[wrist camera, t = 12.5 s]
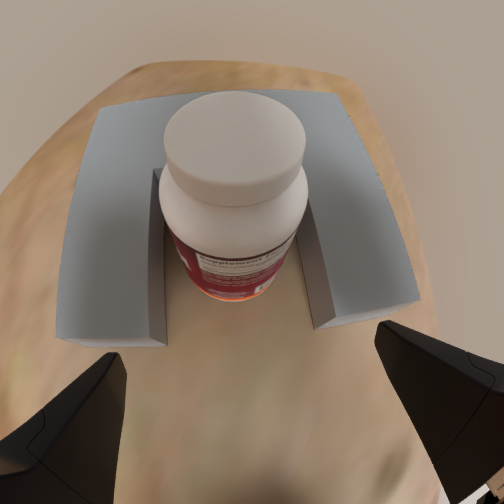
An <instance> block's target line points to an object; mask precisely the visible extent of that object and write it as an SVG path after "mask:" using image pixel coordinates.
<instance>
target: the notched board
mask: <svg viewBox="0 0 504 504" xmlns="http://www.w3.org/2000/svg"><path fill="white" fill-rule="evenodd" d="M227 91H241V92H250V93H255V94H259V95H263V96H266V97H269V98H271V99H274V100H276V101H278V102H280V103H281V104H283V105H285V106H286V107H287V108H289V109H290V110H291V111H292V112H293V113H294V114H295V115H296V116H297V117H298V119H299V120H300V121H301V123H302V126H303V128H304V131H305V136H306V145H305V150H304V155H303V160H302V164H301V165H302V167H303V169H304V172H305V175H306V178H307V183H308V199H307V205H306V208H305V211H304V214H303V217H302V220H301V222H300V224H299V226H298V229H297V231H296V233H295V234H296V238H297V243H298V248H299V252H300V257H301V262H302V267H303V272H304V277H305V282H306V287H307V293H308V298H309V303H310V309H311V314H312V320H313V325H314V330H316V329H322V328H328V327H333V326H339V325H344V324H349V323H354V322H359V321H364V320H369V319H374V318H378V317H383V316H387V315H390V314H392V313H394V312H396V311H398V310H400V309H402V308H404V307H407V306H409V305H411V304H413V303H415V302H417V301H419V300H421V299H420V295H419V291H418V287H417V283H416V280H415V276H414V273H413V269H412V266H411V263H410V259H409V256H408V253H407V250H406V247H405V244H404V241H403V238H402V235H401V232H400V229H399V227H398V224H397V221H396V218H395V216H394V213H393V210H392V208H391V205H390V203H389V200H388V198H387V195H386V193H385V190H384V188H383V186H382V183H381V181H380V179H379V176H378V174H377V172H376V170H375V167H374V165H373V163H372V161H371V159H370V157H369V154H368V152H367V150H366V148H365V146H364V144H363V142H362V140H361V138H360V136H359V134H358V132H357V130H356V128H355V126H354V124H353V123H352V121H351V119H350V117H349V115H348V113H347V112H346V110H345V108H344V106H343V104H342V103H341V101H340V99H339V97H338V96H337V94H336V93H326V92H313V91H296V90H227ZM217 92H225V91H211V92H198V93H188V94H179V95H171V96H163V97H156V98H150V99H144V100H138V101H132V102H127V103H122V104H117V105H112V106H108V107H104V108H100V111H99V113H98V116H97V118H96V121H95V124H94V127H93V129H92V132H91V135H90V138H89V141H88V144H87V147H86V150H85V153H84V156H83V160H82V163H81V167H80V170H79V174H78V177H77V181H76V185H75V189H74V193H73V197H72V201H71V206H70V211H69V215H68V220H67V226H66V231H65V237H64V243H63V249H62V256H61V264H60V273H59V282H58V294H57V310H56V338H58V339H61V340H65V341H68V342H72V343H75V344H79V345H82V346H86V347H151V346H167V333H166V315H165V292H164V215H163V212H162V209H161V205H160V201H159V183H160V178H161V174H162V171H163V169H164V167H165V165H166V163H167V158H166V153H165V148H164V132H165V129H166V126H167V124H168V122H169V120H170V119H171V117H172V116H173V115H174V114H175V113H176V112H177V111H178V110H179V109H180V108H181V107H183V106H184V105H186V104H187V103H189V102H191V101H192V100H194V99H197V98H199V97H202V96H205V95H208V94H212V93H217Z"/></svg>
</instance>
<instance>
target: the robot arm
mask: <svg viewBox="0 0 504 504" xmlns="http://www.w3.org/2000/svg"><path fill="white" fill-rule="evenodd" d="M374 343H375V347H376V350H377V352H378V354H379V357H380V359H381V361H382V364H383V366H384V368H385V371H386V373H387V376H388V378H389V380H390V382H391V384H392V385H393V387H394V389H395V391H396V393H397V395H398V396H399V398H400V400H401V402H402V404H403V406H404V408H405V410H406V412H407V413H408V415H409V417H410V419H411V421H412V423H413V425H414V427H415V429H416V431H417V433H418V435H419V437H420V439H421V441H422V443H423V445H424V447H425V449H426V451H427V453H428V455H429V457H430V460H431V462H432V464H433V466H434V468H435V470H436V473H437V475H438V477H439V479H440V481H441V484H442V486H443V488H444V490H445V493H446V495H447V497H448V500H449V502H450V504H459V503H460V502H461V501H463V500H464V499H466V498H467V497H468V496H470V495H471V494H472V493H474V492H475V491H476V490H478V489H479V488H480V487H481V486H483V485H484V484H485V483H486V484H487V486H488V488H489V489H490V490H489V491H488V492H487V493H486V494H484V495H483V496H482V497H481V498H480V499H478V500H477V503H476V504H504V364H501V363H498V362H494V361H492V360H489V359H486V358H483V357H480V356H477V355H475V354H472V353H469V352H466V351H465V350H462V349H459V348H457V347H454V346H452V345H450V344H447V343H445V342H442V341H440V340H437V339H435V338H432V337H430V336H427V335H425V334H422V333H420V332H418V331H415V330H413V329H410V328H408V327H405V326H403V325H400V324H398V323H396V322H393V321H391V320H386V321H382V322H380V323H379V324H378V327H377V331H376V336H375V340H374ZM126 381H127V373H126V369H125V367H124V364H123V362H122V359H121V357H120V355H119V353H117V352H108V353H106V354H105V355H103V356H102V357H101V358H100V359H99V360H98V361H96V362H95V363H94V364H93V365H92V366H91V367H89V368H88V369H87V370H86V371H85V372H84V373H82V374H81V375H80V376H79V377H78V378H77V379H75V380H74V381H73V382H72V383H71V384H70V385H68V386H67V387H66V388H65V389H64V390H63V391H61V392H60V393H59V394H58V395H57V396H56V397H55V398H53V399H52V400H51V401H50V402H49V403H48V404H46V405H45V406H44V407H43V408H42V409H41V410H40V411H38V412H37V413H36V414H35V415H34V416H33V417H31V418H30V419H29V420H28V421H27V422H25V423H24V424H23V425H21V426H20V427H19V428H17V429H16V430H15V431H13V432H12V433H10V434H9V435H8V436H6V437H5V438H3V439H2V440H1V441H0V504H113V501H114V488H115V478H116V469H117V460H118V453H119V445H120V438H121V432H122V425H123V419H124V411H125V395H126Z"/></svg>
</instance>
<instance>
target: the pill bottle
mask: <svg viewBox="0 0 504 504" xmlns="http://www.w3.org/2000/svg"><path fill="white" fill-rule="evenodd" d="M305 145H306V136H305V131H304V128H303V126H302V123H301V121H300V120H299V119H298V117H297V116H296V115H295V114H294V113H293V112H292V111H291V110H290V109H289V108H287V107H286V106H285V105H283V104H281V103H280V102H278V101H276V100H274V99H271V98H269V97H266V96H263V95H259V94H255V93H250V92H241V91H225V92H217V93H212V94H208V95H205V96H202V97H199V98H197V99H194V100H192V101H191V102H189V103H187V104H186V105H184V106H183V107H181V108H180V109H179V110H178V111H177V112H176V113H175V114H174V115H173V116H172V117H171V119H170V120H169V122H168V124H167V126H166V129H165V132H164V148H165V153H166V158H167V163H166V165H165V167H164V169H163V171H162V174H161V178H160V183H159V201H160V205H161V209H162V212H163V215H164V218H165V221H166V223H167V225H168V228H169V230H170V233H171V235H172V238H173V240H174V243H175V245H176V248H177V250H178V252H179V254H180V257H181V259H182V262H183V264H184V266H185V269H186V271H187V273H188V275H189V277H190V278H191V280H192V281H193V283H194V284H195V285H196V286H197V287H198V288H199V289H200V290H201V291H202V292H204V293H205V294H207V295H208V296H210V297H213V298H215V299H218V300H222V301H229V302H237V301H243V300H247V299H250V298H253V297H255V296H257V295H259V294H260V293H262V292H263V291H264V290H266V289H267V288H268V287H269V286H270V285H271V283H272V282H273V281H274V279H275V278H276V276H277V274H278V272H279V270H280V268H281V265H282V263H283V261H284V259H285V256H286V254H287V252H288V249H289V247H290V245H291V242H292V240H293V238H294V236H295V233H296V231H297V229H298V226H299V224H300V222H301V220H302V217H303V214H304V211H305V208H306V205H307V199H308V183H307V178H306V175H305V172H304V169H303V167H302V165H301V164H302V160H303V155H304V150H305Z"/></svg>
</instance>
